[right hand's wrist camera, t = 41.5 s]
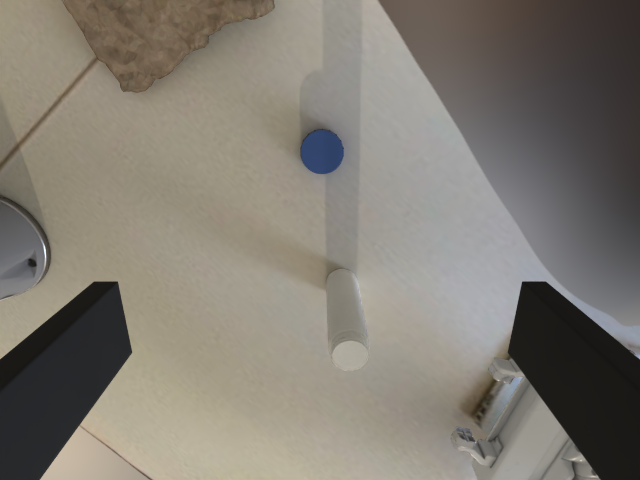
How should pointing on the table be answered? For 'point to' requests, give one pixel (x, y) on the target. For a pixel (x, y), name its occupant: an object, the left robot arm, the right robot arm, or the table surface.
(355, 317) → the white bottle
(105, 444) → the table surface
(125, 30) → the stone
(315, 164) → the lid
